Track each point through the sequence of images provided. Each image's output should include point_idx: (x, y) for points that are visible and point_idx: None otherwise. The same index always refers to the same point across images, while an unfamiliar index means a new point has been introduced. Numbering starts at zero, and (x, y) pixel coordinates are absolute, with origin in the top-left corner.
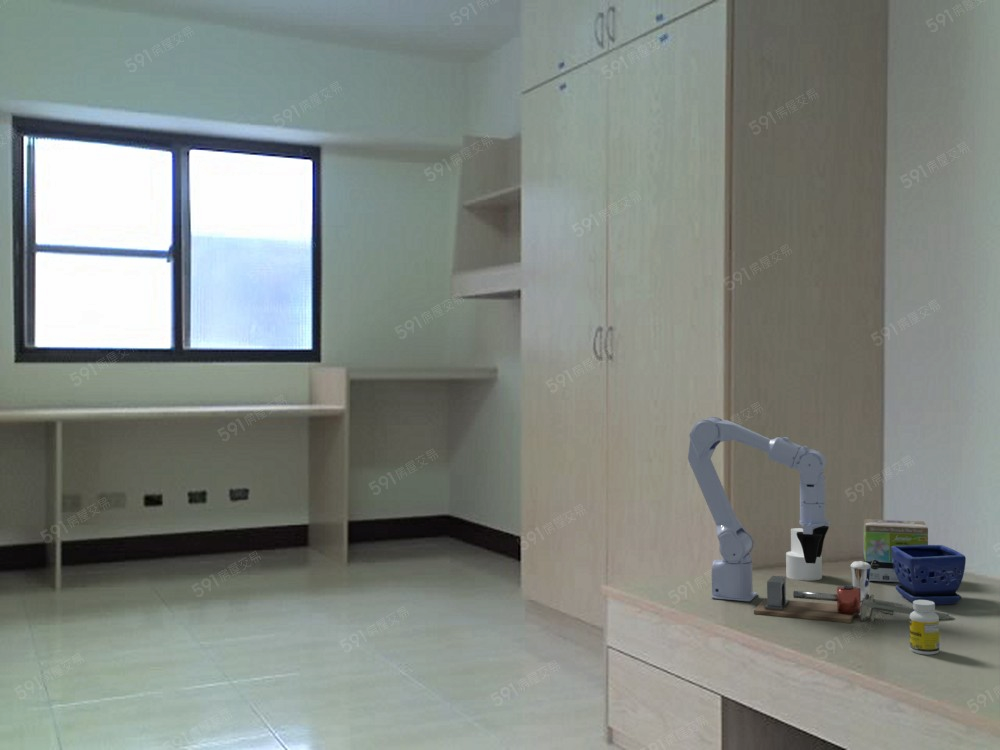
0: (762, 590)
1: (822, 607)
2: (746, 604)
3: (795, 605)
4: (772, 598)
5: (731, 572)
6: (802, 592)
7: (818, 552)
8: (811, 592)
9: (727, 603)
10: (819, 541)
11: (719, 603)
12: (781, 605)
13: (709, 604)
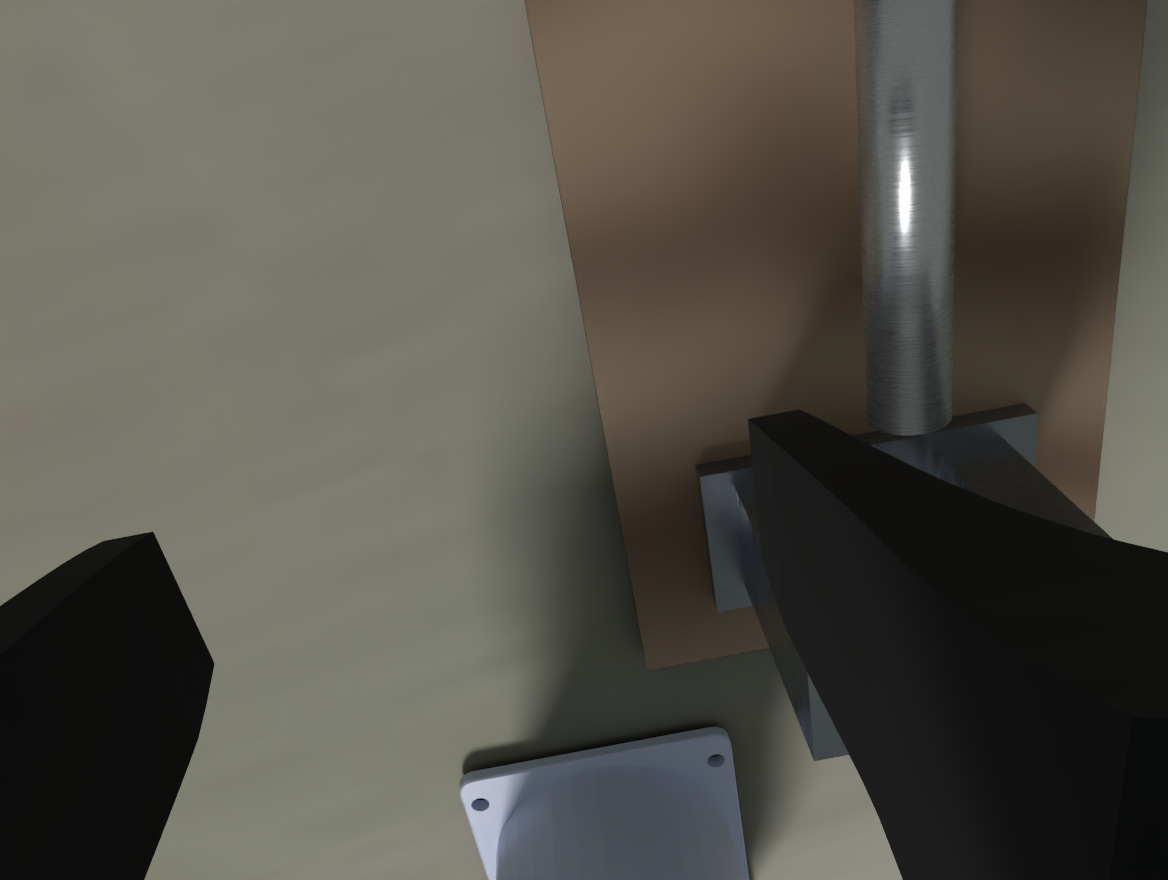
0: (287, 794)
1: (744, 108)
2: (794, 715)
3: (783, 375)
4: None
5: None
6: (945, 332)
7: (133, 613)
8: (932, 233)
9: (823, 812)
10: (1032, 610)
11: (846, 846)
12: (970, 448)
13: (900, 875)
